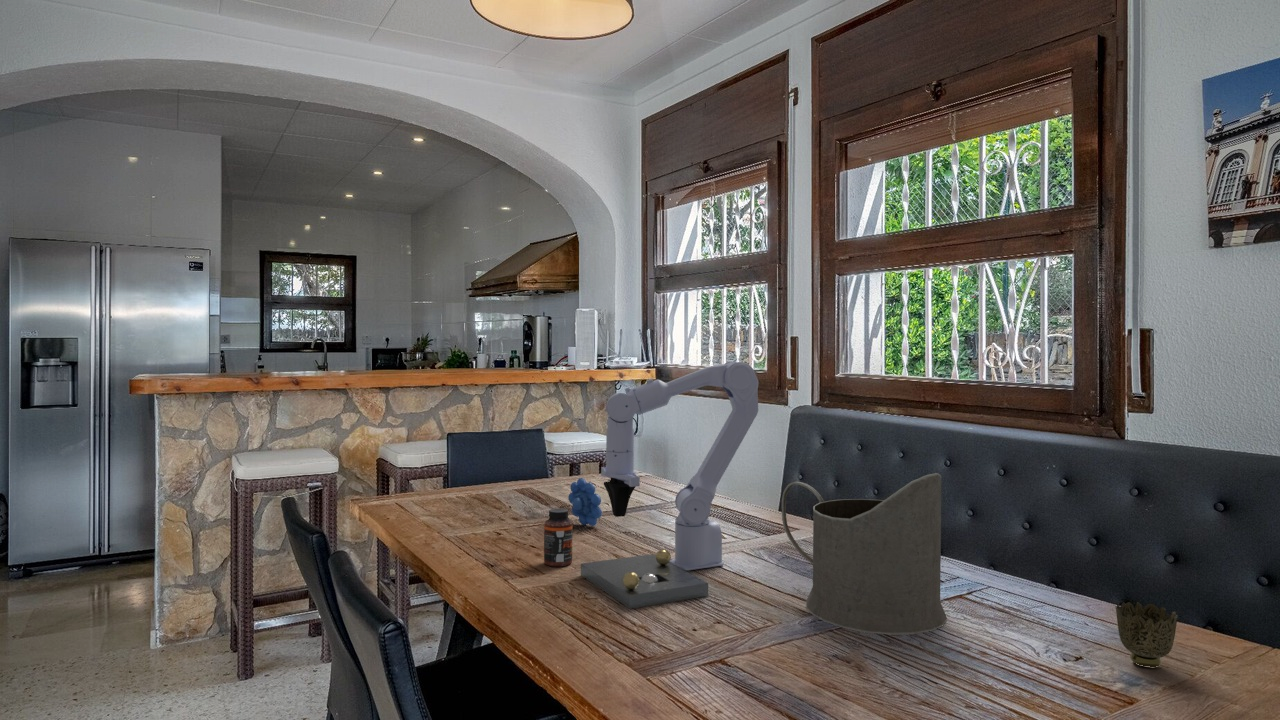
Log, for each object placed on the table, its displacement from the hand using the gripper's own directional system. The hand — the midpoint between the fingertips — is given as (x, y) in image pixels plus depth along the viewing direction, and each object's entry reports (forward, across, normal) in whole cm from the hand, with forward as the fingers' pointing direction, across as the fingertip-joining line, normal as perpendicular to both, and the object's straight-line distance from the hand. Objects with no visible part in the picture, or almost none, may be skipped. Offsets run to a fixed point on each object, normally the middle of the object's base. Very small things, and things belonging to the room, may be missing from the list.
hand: (619, 515), depth 159 cm
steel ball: (+9, +18, -2) cm, 20 cm away
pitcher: (+10, +40, +27) cm, 50 cm away
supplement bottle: (+11, -7, -11) cm, 17 cm away
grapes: (+11, -37, +7) cm, 39 cm away
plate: (+10, +14, -2) cm, 18 cm away
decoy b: (+6, +22, -8) cm, 24 cm away
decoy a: (+6, +11, +4) cm, 14 cm away
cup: (+10, +79, +46) cm, 92 cm away
